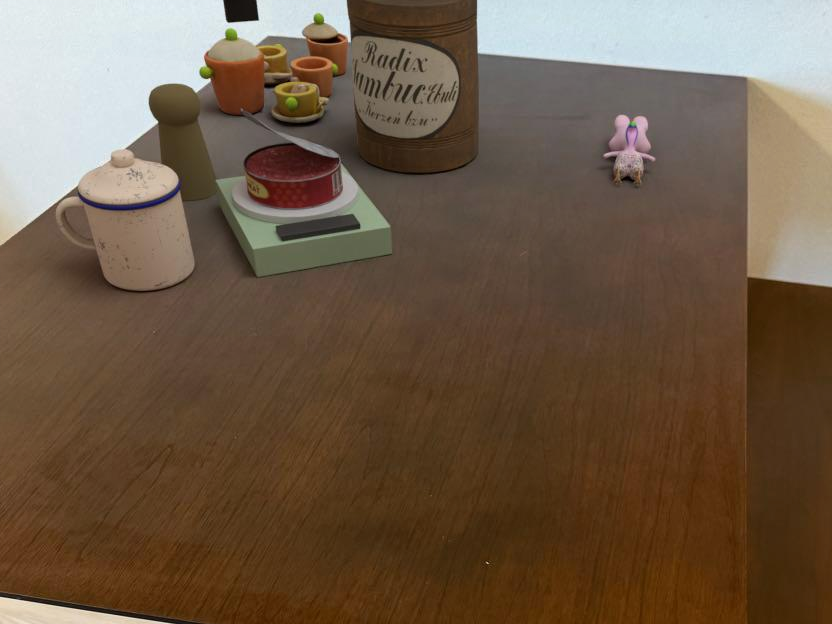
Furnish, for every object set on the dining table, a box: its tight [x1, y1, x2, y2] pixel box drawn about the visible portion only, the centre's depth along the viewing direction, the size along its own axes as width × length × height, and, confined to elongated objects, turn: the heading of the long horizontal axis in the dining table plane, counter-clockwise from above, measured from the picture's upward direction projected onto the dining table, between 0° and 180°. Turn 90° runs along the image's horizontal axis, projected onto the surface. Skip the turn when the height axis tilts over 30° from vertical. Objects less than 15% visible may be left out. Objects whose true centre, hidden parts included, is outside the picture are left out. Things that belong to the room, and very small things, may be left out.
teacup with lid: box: [55, 148, 196, 292], centre depth 91 cm, size 12×9×12 cm
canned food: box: [241, 109, 343, 210], centre depth 99 cm, size 11×10×10 cm
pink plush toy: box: [602, 114, 656, 185], centre depth 117 cm, size 6×6×15 cm
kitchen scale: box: [215, 163, 393, 278], centre depth 101 cm, size 17×14×4 cm
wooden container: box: [346, 0, 480, 174], centre depth 112 cm, size 15×15×22 cm
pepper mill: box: [148, 83, 218, 202], centre depth 105 cm, size 6×6×11 cm
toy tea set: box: [198, 12, 349, 124], centre depth 129 cm, size 26×16×10 cm, turn 174°
